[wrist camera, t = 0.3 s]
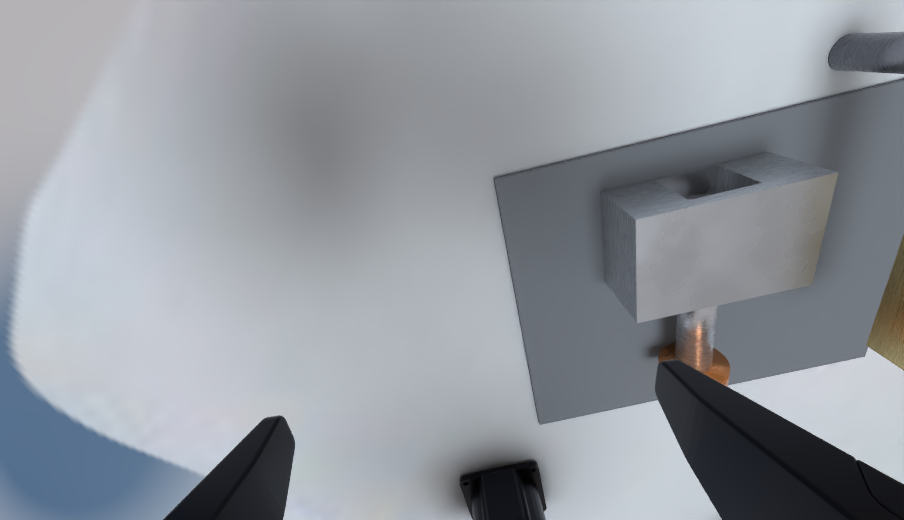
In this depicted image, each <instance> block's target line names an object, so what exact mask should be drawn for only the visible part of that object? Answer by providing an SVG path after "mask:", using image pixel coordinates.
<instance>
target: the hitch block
mask: <svg viewBox="0 0 904 520" xmlns="http://www.w3.org/2000/svg"><path fill="white" fill-rule="evenodd" d="M837 177H838V172H835V171H832V170H828V169H825V168H822V167H818V166H815V165H811V164H808V163H805V162H801V161H798V160H795V159H791V158H788V157H785V156H781V155H778V154H774V153H771V152H768V151H765V152H761V153H757V154H753V155H748V156H744V157H740V158H736V159H732V160H727V161H723V162H719V163H715V164H711V165H706V166H702V167H698V168H694V169H690V170H685V171H681V172H677V173H673V174H669V175H664V176H660V177H656V178H652V179H647V180H643V181H639V182H635V183H631V184H626V185H622V186H618V187H614V188H610V189H605V190H601V191H600V205H601V223H602V241H603V259H604V277H605V283H606V284H607V286H608V287H609V288H610V289H611V291H612V292H613V293H614V295H615V296H616V297H617V298H618V300H619V301H620V302H621V304H622V305H623V306H624V307H625V309H626V310H627V311H628V313H629V314H630V315H631V316H632V318H633V319H634V320H635V322H636V323H641V322H645V321H650V320H655V319H659V318H664V317H668V316H673V315H677V314H682V313H686V312H691V311H695V310H700V309H704V308H709V307H714V306H718V305H723V304H727V303H732V302H736V301H741V300H745V299H750V298H754V297H759V296H764V295H768V294H773V293H777V292H782V291H786V290H791V289H795V288H800V287H804V286H809V285H812V283H813V279H814V274H815V270H816V266H817V262H818V257H819V253H820V249H821V245H822V240H823V236H824V232H825V228H826V223H827V219H828V215H829V211H830V206H831V202H832V198H833V194H834V189H835V185H836V181H837ZM696 194H713V195H709V196H704V197H700V198H696V199H691V200H687V199H686V197H689V196H692V195H696Z"/></svg>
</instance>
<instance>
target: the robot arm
mask: <svg viewBox="0 0 904 520" xmlns="http://www.w3.org/2000/svg"><path fill="white" fill-rule="evenodd" d="M655 393H656V396H657V398H658V401H659V403H660V405H661V407H662V409H663V411H664V413H665V416H666V418H667V420H668V422H669V424H670V426H671V428H672V430H673V433H674V435H675V437H676V439H677V441H678V443H679V445H680V447H681V450H682V452H683V454H684V456H685V458H686V459H687V461H688V463H689V465H690V466H691V468H692V470H693V471H694V473H695V475H696V477H697V478H698V480H699V482H700V483H701V485H702V487H703V488H704V490H705V492H706V493H707V495H708V497H709V498H710V500H711V502H712V503H713V505H714V507H715V508H716V510H717V512H718V513H719V515H720V517H721V518H722V520H904V484H902V483H900V482H898V481H897V480H895V479H893V478H891V477H889V476H887V475H885V474H884V473H882V472H880V471H878V470H876V469H875V468H873V467H871V466H869V465H867V464H866V463H864V462H862V461H860V460H857V461H856V459H855V458H854V457H853V456H851V455H849V454H847V453H845V452H844V451H842V450H840V449H838V448H836V447H835V446H833V445H831V444H829V443H827V442H826V441H824V440H822V439H820V438H818V437H817V436H815V435H813V434H811V433H809V432H808V431H806V430H804V429H802V428H800V427H799V426H797V425H795V424H793V423H792V422H790V421H788V420H786V419H784V418H783V417H781V416H779V415H777V414H775V413H774V412H772V411H770V410H768V409H766V408H765V407H763V406H761V405H759V404H757V403H756V402H754V401H752V400H750V399H748V398H747V397H745V396H743V395H741V394H739V393H738V392H736V391H734V390H732V389H730V388H729V387H727V386H725V385H723V384H721V383H720V382H718V381H716V380H714V379H712V378H711V377H709V376H707V375H705V374H703V373H702V372H700V371H698V370H696V369H694V368H693V367H691V366H689V365H687V364H685V363H684V362H682V361H680V360H677V359H673V360H666V361H661V362H659V364H658V366H657V373H656V380H655ZM294 450H295V441H294V437H293V435H292V433H291V430H290V428H289V426H288V424H287V422H286V419H285V418H284V417H283V416H273V417H267V418H265V419H263V420H262V421H261V422H260V423H259V424H258V425H257V426H256V427H255V428H254V429H253V430H252V431H251V432H250V433H249V434H248V435H247V436H246V437H245V438H244V439H243V440H242V441H241V442H240V443H239V444H238V445H237V446H236V447H235V448H234V449H233V450H232V451H231V452H230V453H229V454H228V455H227V456H226V457H225V458H224V459H223V460H222V461H221V462H220V463H219V464H218V465H217V466H216V467H215V468H214V469H213V470H212V471H211V472H210V473H209V474H208V475H207V476H206V477H205V478H204V479H203V480H202V481H201V482H200V483H199V484H198V485H197V486H196V487H195V488H194V489H193V490H192V491H191V492H190V493H189V494H188V495H187V496H186V497H185V499H183V500H182V501H181V502H180V503H179V504H178V505H177V506H176V507H175V508H174V509H173V510H172V511H171V512H170V513H169V514H168V515H167V516H166V518H164V519H163V520H283V517H284V512H285V506H286V500H287V494H288V488H289V482H290V475H291V469H292V463H293V456H294ZM460 486H461V489H462V492H463V494H464V497H465V500H466V503H467V506H468V508H469V511H470V514H471V517H472V519H473V520H546V519H545V515H544V511H545V510H546V503H545V498H544V493H543V488H542V483H541V478H540V473H539V468H538V465H537V463H536V462H527V463H523V464H518V465H513V466H508V467H503V468H498V469H493V470H488V471H484V472H479V473H474V474H469V475H464V476H462V477H460Z"/></svg>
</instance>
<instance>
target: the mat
mask: <svg viewBox="0 0 904 520" xmlns="http://www.w3.org/2000/svg"><path fill="white" fill-rule="evenodd" d="M765 151H768V152H771V153H774V154H778V155H781V156H785V157H788V158H791V159H795V160H798V161H801V162H805V163H808V164H811V165H815V166H818V167H822V168H825V169H828V170H832V171H835V172H838V177H837V181H836V185H835V189H834V194H833V198H832V202H831V206H830V211H829V215H828V219H827V223H826V228H825V232H824V236H823V240H822V245H821V249H820V253H819V257H818V262H817V266H816V270H815V274H814V279H813V283H812V285H809V286H804V287H800V288H795V289H791V290H786V291H782V292H777V293H773V294H768V295H764V296H759V297H754V298H750V299H745V300H741V301H736V302H732V303H727V304H723V305H718V310H717V320H716V329H715V338H714V348H715V349H716V350H718V351H719V352H721V353H722V354H723V355H724V356H725V357H726V358H727V360H728V362H729V364H730V375H729V382H728V385H731V384H736V383H741V382H746V381H750V380H755V379H760V378H765V377H769V376H774V375H779V374H784V373H788V372H793V371H798V370H803V369H808V368H812V367H817V366H822V365H827V364H831V363H836V362H841V361H846V360H850V359H855V358H860V357H865V354H866V351H867V349H868V346H867V345H866V344H867V341H868V338H869V335H870V332H871V329H872V326H873V323H874V320H875V317H876V314H877V311H878V308H879V305H880V302H881V300H882V297H883V294H884V291H885V288H886V285H887V282H888V279H889V276H890V273H891V270H892V267H893V264H894V261H895V258H896V255H897V252H898V250H899V247H900V244H901V241H902V238H903V235H904V79H901V80H897V81H893V82H889V83H885V84H881V85H876V86H872V87H868V88H864V89H860V90H856V91H852V92H848V93H844V94H839V95H835V96H831V97H827V98H823V99H819V100H815V101H811V102H806V103H802V104H798V105H794V106H790V107H786V108H782V109H778V110H774V111H769V112H765V113H761V114H757V115H753V116H749V117H745V118H741V119H736V120H732V121H728V122H724V123H720V124H716V125H712V126H708V127H703V128H699V129H695V130H691V131H687V132H683V133H679V134H675V135H671V136H666V137H662V138H658V139H654V140H650V141H646V142H642V143H638V144H633V145H629V146H625V147H621V148H617V149H613V150H609V151H605V152H600V153H596V154H592V155H588V156H584V157H580V158H576V159H572V160H568V161H563V162H559V163H555V164H551V165H547V166H543V167H539V168H535V169H530V170H526V171H522V172H518V173H514V174H510V175H506V176H502V177H497V178H494V182H495V187H496V193H497V198H498V204H499V209H500V214H501V220H502V225H503V231H504V236H505V242H506V247H507V252H508V258H509V263H510V269H511V274H512V280H513V285H514V290H515V296H516V301H517V307H518V312H519V317H520V323H521V328H522V334H523V339H524V345H525V350H526V355H527V361H528V366H529V372H530V377H531V383H532V388H533V393H534V399H535V404H536V410H537V415H538V421H539V424H540V425H541V424H546V423H550V422H555V421H560V420H565V419H570V418H574V417H579V416H584V415H589V414H593V413H598V412H603V411H608V410H612V409H617V408H622V407H627V406H631V405H636V404H641V403H646V402H650V401H655V400H658V398H657V396H656V393H655V380H656V373H657V366H658V356H659V353H660V351H661V350H662V349H663V348H664V347H665V346H667V345H668V344H671V343H674V342H676V324H677V315H673V316H668V317H664V318H659V319H655V320H650V321H645V322H641V323H636V322H635V320H634V319H633V318H632V316H631V315H630V314H629V313H628V311H627V310H626V309H625V307H624V306H623V305H622V304H621V302H620V301H619V300H618V298H617V297H616V296H615V295H614V293H613V292H612V291H611V289H610V288H609V287H608V286H607V284H606V283H605V277H604V259H603V241H602V223H601V205H600V191H601V190H605V189H610V188H614V187H618V186H622V185H626V184H631V183H635V182H639V181H643V180H647V179H652V178H656V177H660V176H664V175H669V174H673V173H677V172H681V171H685V170H690V169H694V168H698V167H702V166H706V165H711V164H715V163H719V162H723V161H727V160H732V159H736V158H740V157H744V156H748V155H753V154H757V153H761V152H765Z"/></svg>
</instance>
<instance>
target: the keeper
mask: <svg viewBox="0 0 904 520" xmlns="http://www.w3.org/2000/svg"><path fill="white" fill-rule="evenodd" d="M829 65H830V67H831V68H832V69H834V70H839V71H858V72H878V73H897V74H904V32H887V33H860V34H849V35H846V36H844V37H842V38H841V39H840V40H839V41H838V42H837V43H836V44H835V45H834V46H833V48H832V50H831V52H830V55H829ZM866 345H867V346H868V347H870V348H871V349H873V350H874V351H876V352H877V353H879V354H880V355H882V356H883V357H885V358H886V359H888V360H889V361H891V362H892V363H894V364H895V365H897V366H898V367H900V368H901V369H903V370H904V235H903V238H902V241H901V244H900V247H899V250H898V252H897V255H896V258H895V261H894V264H893V267H892V270H891V273H890V276H889V279H888V282H887V285H886V288H885V291H884V294H883V297H882V300H881V302H880V305H879V308H878V311H877V314H876V317H875V320H874V323H873V326H872V329H871V332H870V335H869V338H868V341H867V344H866Z"/></svg>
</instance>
